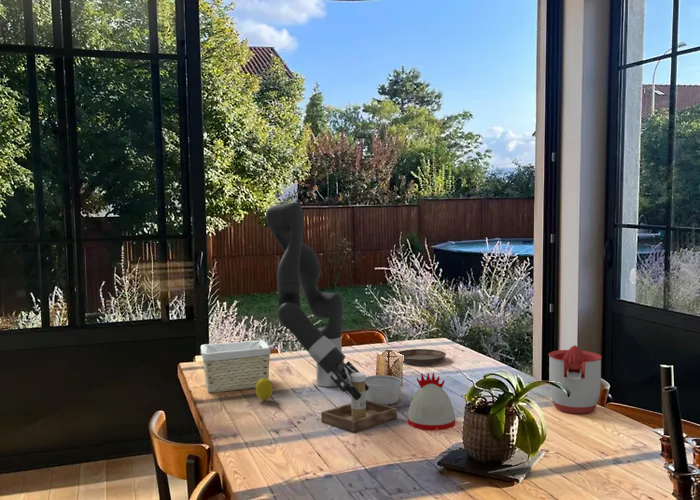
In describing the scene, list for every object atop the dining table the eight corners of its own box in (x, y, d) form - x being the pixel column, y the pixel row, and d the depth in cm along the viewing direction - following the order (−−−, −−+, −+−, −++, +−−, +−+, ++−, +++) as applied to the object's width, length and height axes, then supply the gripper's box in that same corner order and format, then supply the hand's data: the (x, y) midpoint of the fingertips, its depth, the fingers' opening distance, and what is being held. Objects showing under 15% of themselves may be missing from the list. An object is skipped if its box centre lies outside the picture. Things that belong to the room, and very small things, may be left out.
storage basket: (204, 394, 226) (202, 352, 225) (200, 383, 241) (199, 343, 240) (272, 388, 232) (271, 347, 231) (265, 377, 248) (264, 339, 247)
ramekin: (409, 400, 215) (409, 379, 215) (384, 409, 206) (383, 387, 205) (379, 392, 224) (378, 372, 224) (353, 401, 215) (352, 380, 214)
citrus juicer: (546, 415, 196) (546, 350, 195) (549, 399, 213) (549, 339, 212) (602, 420, 191) (602, 353, 190) (601, 403, 207) (601, 341, 206)
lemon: (269, 403, 214) (269, 379, 213) (253, 403, 215) (253, 379, 214) (274, 398, 219) (274, 375, 218) (259, 398, 220) (258, 374, 220)
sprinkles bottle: (362, 414, 198) (361, 371, 197) (369, 419, 194) (368, 374, 193) (348, 417, 196) (347, 373, 195) (355, 421, 192) (354, 376, 191)
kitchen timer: (406, 415, 199) (406, 367, 198) (451, 415, 199) (451, 366, 198) (409, 431, 185) (408, 379, 184) (457, 430, 185) (457, 378, 184)
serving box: (364, 408, 207) (364, 399, 207) (397, 418, 197) (396, 408, 196) (321, 421, 194) (321, 412, 194) (354, 433, 184) (353, 422, 184)
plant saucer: (397, 355, 282) (397, 347, 282) (445, 355, 279) (445, 348, 279) (394, 367, 261) (394, 358, 261) (446, 367, 259) (446, 359, 259)
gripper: (326, 351, 189) (365, 392, 187) (341, 341, 203) (377, 379, 200) (310, 368, 191) (348, 409, 189) (325, 357, 205) (361, 395, 202)
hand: (363, 394), depth 195 cm, fingers open, 8 cm apart
